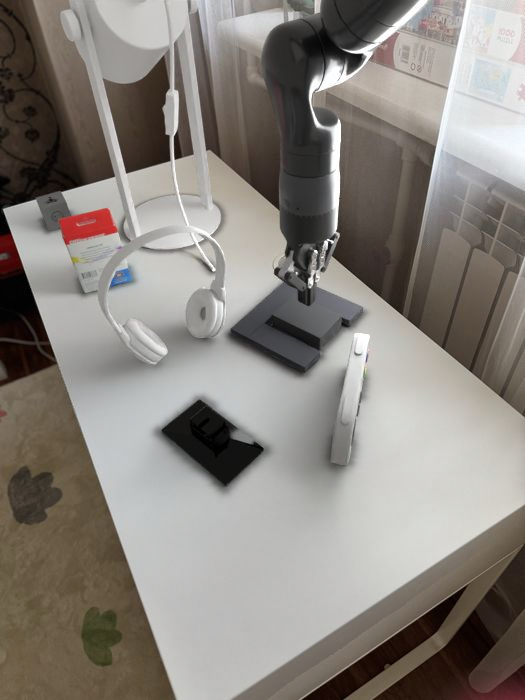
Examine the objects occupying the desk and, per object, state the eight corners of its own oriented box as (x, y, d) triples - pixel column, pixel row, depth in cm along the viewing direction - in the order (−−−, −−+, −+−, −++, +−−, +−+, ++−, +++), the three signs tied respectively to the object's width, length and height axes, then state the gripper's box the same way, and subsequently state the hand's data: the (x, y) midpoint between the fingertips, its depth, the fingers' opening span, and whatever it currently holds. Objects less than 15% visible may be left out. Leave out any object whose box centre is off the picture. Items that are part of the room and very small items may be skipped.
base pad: (362, 312, 85) (363, 306, 84) (304, 373, 77) (304, 367, 76) (291, 280, 92) (291, 275, 91) (231, 334, 83) (230, 328, 82)
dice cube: (49, 231, 106) (40, 209, 103) (44, 219, 109) (35, 197, 106) (74, 224, 108) (66, 201, 104) (68, 212, 111) (60, 190, 107)
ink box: (127, 266, 97) (106, 193, 86) (132, 281, 94) (111, 207, 83) (79, 278, 95) (52, 205, 85) (83, 294, 92) (55, 220, 81)
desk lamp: (187, 180, 118) (146, -79, 86) (271, 246, 99) (258, -54, 67) (98, 212, 110) (16, -59, 78) (171, 291, 91) (102, -25, 59)
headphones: (114, 356, 81) (75, 246, 67) (219, 308, 88) (203, 199, 73) (133, 385, 77) (95, 275, 62) (242, 333, 83) (230, 222, 69)
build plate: (160, 432, 71) (153, 410, 68) (201, 399, 75) (196, 377, 71) (225, 487, 65) (221, 466, 61) (266, 448, 68) (264, 427, 65)
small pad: (294, 306, 87) (294, 293, 85) (341, 328, 83) (342, 315, 81) (271, 326, 84) (271, 314, 82) (319, 350, 80) (320, 338, 78)
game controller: (347, 478, 65) (352, 439, 59) (329, 475, 65) (332, 435, 59) (367, 363, 78) (373, 321, 72) (352, 360, 78) (356, 319, 72)
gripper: (302, 231, 62) (301, 337, 75) (362, 183, 69) (352, 287, 82) (252, 212, 66) (259, 316, 78) (313, 168, 73) (311, 270, 85)
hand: (307, 301), depth 80 cm, fingers closed
